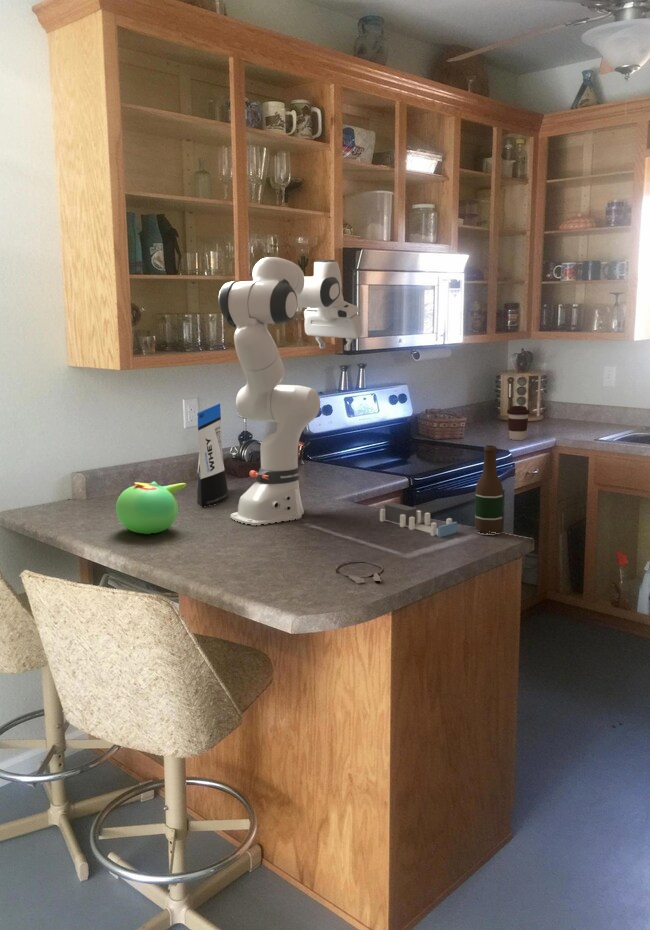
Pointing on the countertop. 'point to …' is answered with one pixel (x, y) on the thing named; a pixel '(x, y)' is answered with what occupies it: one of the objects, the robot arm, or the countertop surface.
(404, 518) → the white peg rack
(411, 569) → the countertop surface
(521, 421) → the coffee cup
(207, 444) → the protein powder
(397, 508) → the gray rectangular block
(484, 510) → the beer bottle
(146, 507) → the round green spouted pot
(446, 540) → the countertop surface
